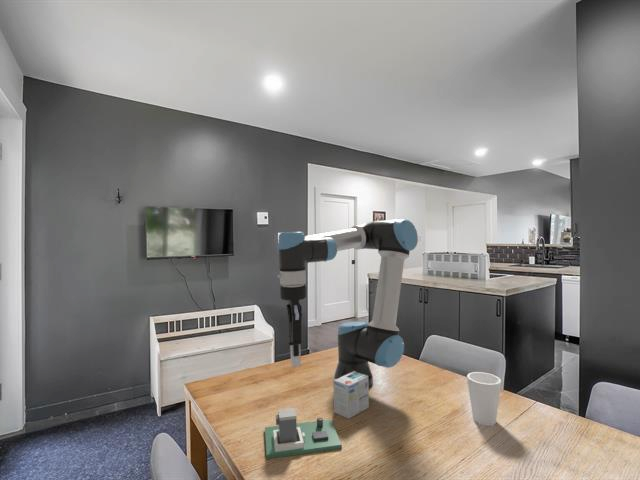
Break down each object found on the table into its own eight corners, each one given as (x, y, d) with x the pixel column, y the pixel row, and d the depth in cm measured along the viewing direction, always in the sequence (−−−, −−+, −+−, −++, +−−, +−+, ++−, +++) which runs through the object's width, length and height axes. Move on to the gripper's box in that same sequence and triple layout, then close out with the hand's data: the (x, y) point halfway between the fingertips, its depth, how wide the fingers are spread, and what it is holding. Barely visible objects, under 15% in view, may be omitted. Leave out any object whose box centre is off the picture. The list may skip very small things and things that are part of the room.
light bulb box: (354, 400, 117) (353, 370, 117) (369, 407, 112) (369, 375, 112) (333, 412, 110) (332, 379, 110) (348, 420, 105) (348, 385, 105)
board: (330, 422, 103) (330, 412, 103) (341, 448, 91) (341, 437, 91) (264, 430, 99) (264, 420, 99) (266, 458, 87) (266, 447, 87)
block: (294, 435, 95) (294, 407, 95) (296, 445, 91) (296, 415, 90) (275, 438, 94) (275, 409, 94) (277, 448, 89) (276, 418, 89)
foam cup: (498, 414, 106) (498, 374, 106) (504, 430, 98) (503, 386, 98) (466, 410, 110) (465, 370, 109) (468, 425, 101) (468, 382, 101)
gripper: (277, 282, 103) (280, 359, 104) (282, 289, 90) (285, 376, 91) (302, 281, 105) (304, 356, 105) (309, 287, 92) (312, 372, 92)
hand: (295, 365), depth 98 cm, fingers closed
